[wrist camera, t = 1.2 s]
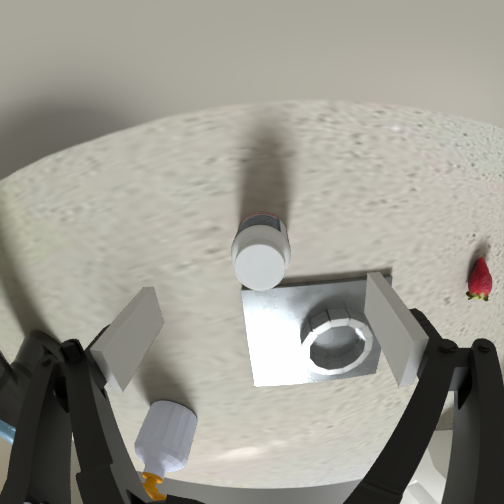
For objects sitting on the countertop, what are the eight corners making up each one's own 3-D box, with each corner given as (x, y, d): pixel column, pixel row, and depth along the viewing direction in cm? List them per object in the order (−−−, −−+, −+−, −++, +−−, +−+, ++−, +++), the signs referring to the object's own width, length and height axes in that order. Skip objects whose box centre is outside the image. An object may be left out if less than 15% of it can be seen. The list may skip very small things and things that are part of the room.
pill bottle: (228, 228, 29) (211, 258, 21) (268, 201, 28) (268, 220, 20) (256, 266, 30) (251, 308, 22) (296, 242, 29) (305, 276, 21)
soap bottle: (168, 393, 39) (121, 516, 16) (207, 420, 41) (180, 538, 18) (142, 406, 42) (98, 510, 19) (179, 431, 44) (149, 532, 21)
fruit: (487, 258, 28) (507, 271, 23) (472, 294, 30) (490, 310, 25) (471, 251, 28) (492, 265, 23) (456, 290, 30) (474, 307, 25)
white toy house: (460, 428, 43) (487, 492, 20) (424, 458, 48) (442, 519, 25) (421, 431, 42) (448, 513, 18) (380, 462, 47) (395, 536, 24)
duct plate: (255, 382, 37) (254, 396, 34) (241, 287, 31) (238, 300, 29) (374, 369, 35) (379, 383, 32) (389, 274, 30) (399, 285, 27)
